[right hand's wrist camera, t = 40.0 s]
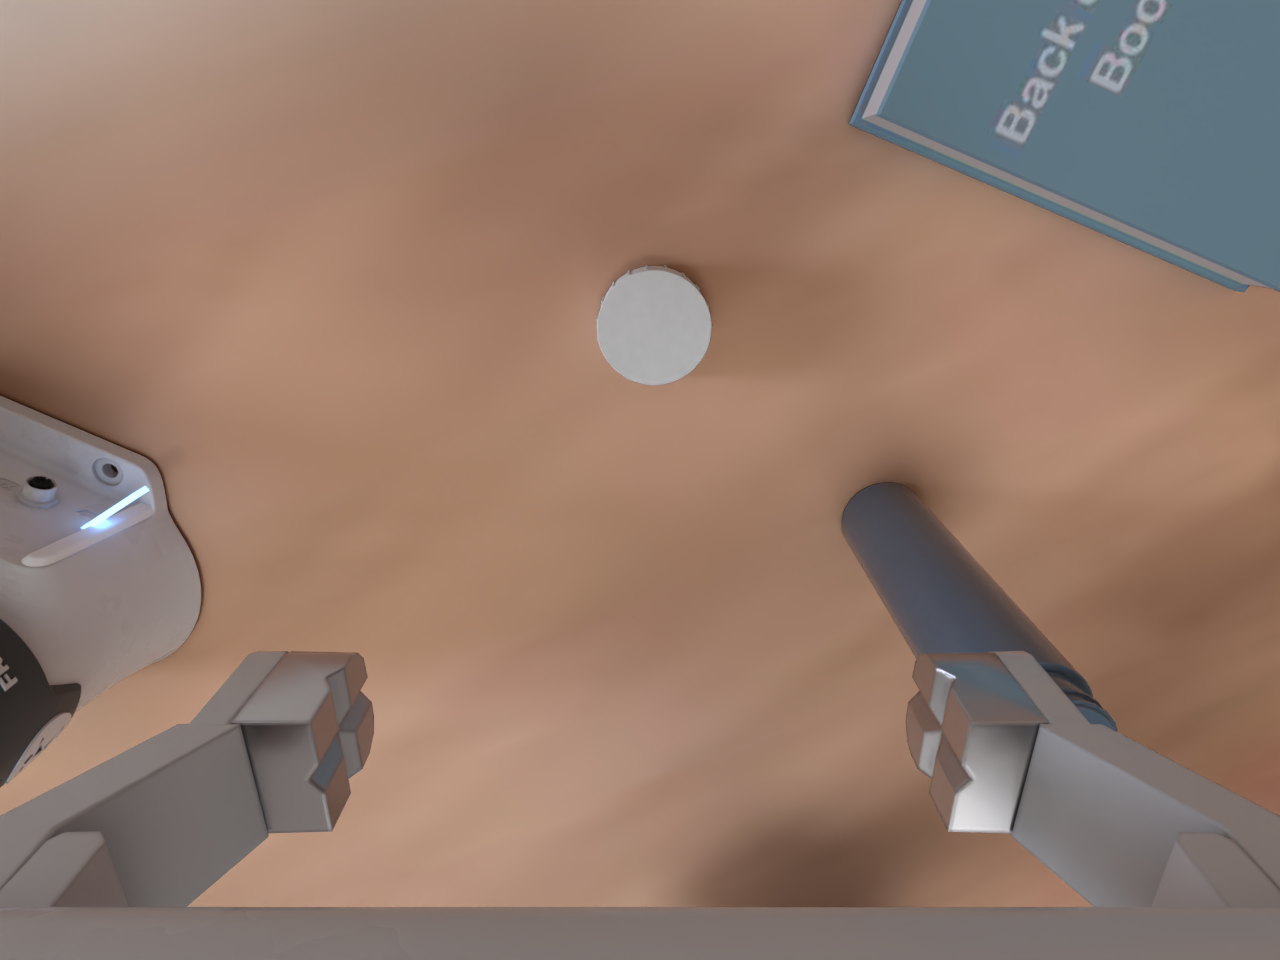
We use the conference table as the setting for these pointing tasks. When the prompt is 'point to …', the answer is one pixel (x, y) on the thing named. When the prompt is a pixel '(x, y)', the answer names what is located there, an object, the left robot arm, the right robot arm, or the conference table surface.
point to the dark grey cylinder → (946, 589)
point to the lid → (654, 325)
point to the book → (1102, 116)
